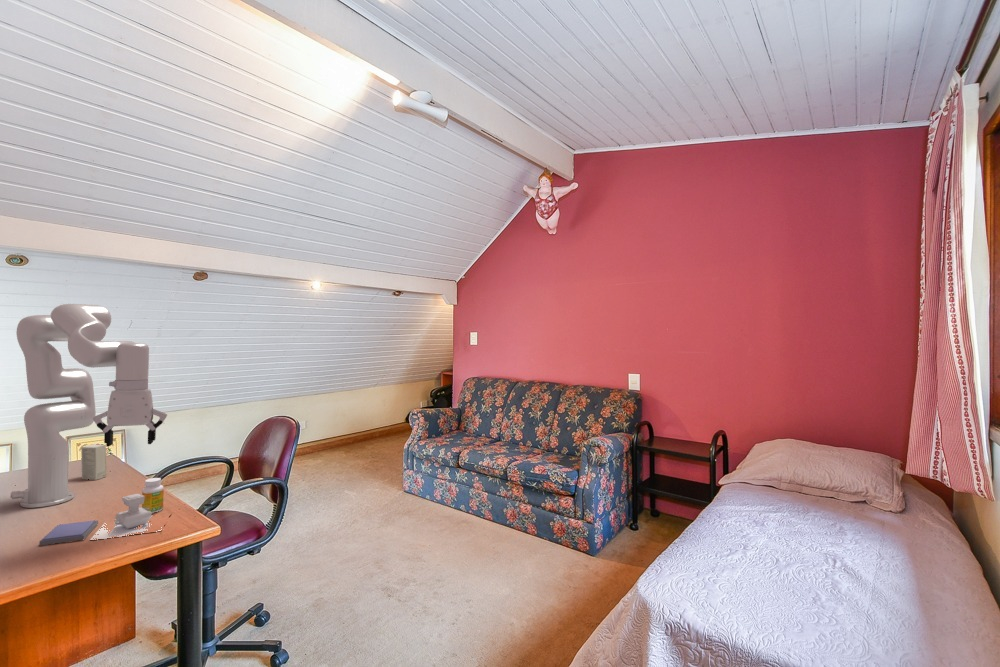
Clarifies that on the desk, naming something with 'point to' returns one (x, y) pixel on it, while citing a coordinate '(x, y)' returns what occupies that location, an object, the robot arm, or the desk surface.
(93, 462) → the skincare box
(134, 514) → the stamp
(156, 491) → the supplement bottle
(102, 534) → the paper
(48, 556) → the desk surface
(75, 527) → the ink pad
